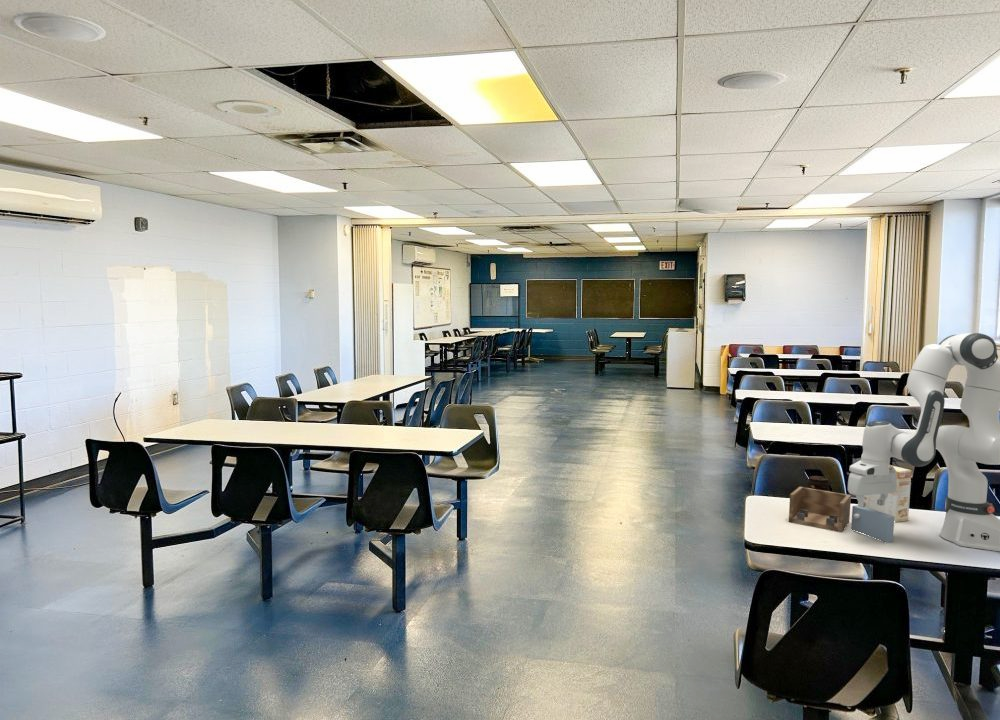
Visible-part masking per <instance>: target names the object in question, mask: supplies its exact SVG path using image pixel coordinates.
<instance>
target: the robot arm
mask: <svg viewBox="0 0 1000 720" xmlns="http://www.w3.org/2000/svg"><path fill="white" fill-rule="evenodd" d="M997 348H998V347H997V344H996V341H995V340H994V339H993V338H992V337H991V336H989V335H987V334H984V333H980V332H975V333H973V332H963V333H959V334H951V335H948V336H947V337H945V338H943V340H941V341H940V342H939V343H931V344H926V345H925V346H924V347H922V349H921V350H920V352H919V353H918V355H917V356H916V359H915V360H914V362H913V364H912V367H911V369H910V372H909V374H908V377H907V381H906V388H907V390H908V393H909V395H910V396H911V397H913V399H914V400H916V401H917V402H918V404H919V406H920V415H919V418H918V419H919V420H918V423H917V426H916V430H915V432H914V434H913V433H909V432H907V431H904V430H901V429H900V428H898V427H895V426H894V425H893V424H892V423H891V422H890V421H888V420H873V421H869V422H868V423H867V424H866V425H865V428H864V430H863V435H862V454H861V457H860V460H858V461H857V462H854V463H853V464H851V465H849V469H848V470H849V472H850V473H849V475H848V479H847V480H848V481H847V491H848V493H849V495H851V496H855V497H856V500H857V505H858V507H861V508H862V507H865V504H866V503H865V502H864V501H863V498H864V495H872V494H880V495H881V496H880V498H879V500H877V504H878V505H880V506H883V505H884V504H885V500H886V498H887V497H888V493H894V492H896V490H897V475H896V470H895V468H894V467H893V466H894V465H892V466H889V465H891V464H890V463H891V458H895V459H897V460H900V461H903V462H905V463H907V464H909V465H911V466H914V467H917V468H919V467H925V466H927V465H929V464H930V463H931V462H932V461H933V460H934V459H935V456H936V452H937V451H938V452H939V453H940V455H941V457H942V458H943V460H944V463H945V466H946V469H947V473H948V474H947V476H948V485H947V486H948V487H947V489H948V490H947V492H948V493H947V496H946V498H945V503H944V504H945V505H944V509H945V516H944V520H943V525H942V527H941V529H940V532H939V536H940V537H941V538H942V539H944V540H946V541H949V542H951V543H954V544H956V545H958V546H961V547H966V548H973V549H981V550H985V551H994V552H1000V519H999V518H998V517H997V516H996V515H995V514H993V513H995V507H994V505H993V503H989V501H987V498H988V497H987V495H988V485H989V484H988V479H987V477H986V476H985V474H983V472H982V471H981V470H980V469H979V467H978V465H977V463H980V464H984V465H994V466H995V465H996V466H997V465H998V466H999V465H1000V359H998V358H999V355H998V349H997ZM955 366H964V367H965V370H966V379H965V383H964V385H963V386H964V387H963V391H962V395H961V399H960V404H959V406H960V410H961V412H962V413H963V414H964V415H965V416H967V418H968V421H969V426H968V427H966V426H964V425H963V426H962V425H956V424H952V425H951V424H950V425H949V424H948V425H947V424H945V425H940V424H941V420H942V418H943V413H944V408H945V402H946V400H945V396H944V391H945V386H946V383H947V381H948V378H949V376H950V372H951V370H952V369H953V368H954V367H955ZM936 450H937V451H936Z"/></svg>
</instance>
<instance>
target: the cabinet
mask: <svg viewBox="0 0 1000 720" xmlns="http://www.w3.org/2000/svg"><path fill="white" fill-rule="evenodd" d="M851 499H852V494H848V493H847V494H846V493H840V492H833V491H830V490H829V491H823V490H817V489H811V488H808V487H804V486H798V487H797V488H796V489H795V490H793V491H792V492H791V493H789V505H788V506H789V509H788V510H789V511H788V523H793V524H798V525H802V526H808V527H813V528H819V529H823V530H828V529H829V530H828V531H833V530H834V531H833V532H838V531H840V532H839V533H842V532H843V531H844V530H845V529H846V528H847V526H848V525H849V524H850V517H851V516H850V515H851ZM848 523H849V524H848ZM847 524H848V525H847ZM845 527H846V528H845ZM844 528H845V529H844Z"/></svg>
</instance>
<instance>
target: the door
mask: <svg viewBox="0 0 1000 720" xmlns="http://www.w3.org/2000/svg"><path fill="white" fill-rule="evenodd" d="M851 507H852V508H851V509H852V510H851V524H850V525H851V527H850V529H852V530H855V531H858V532H861V533H864V534H866V535H869V536H871V537H874V538H876V539H875V540H877V539H879V540H881V541H880V542H882V541H883V543H885V542H886V544H888V543H887V542H889V543H893V542H894V528H895V522H894V517H895V516H891V515H888V514H885V513H882V512H879V511H876V510H873V509H870V508H867V507H862V508H861V507H858V504H856V505H852V506H851ZM852 530H851V531H852ZM855 531H854V532H855ZM858 532H857V533H858ZM866 535H865V536H866ZM871 537H870V538H871ZM874 538H873V539H874ZM879 540H878V541H879ZM892 541H893V542H892Z"/></svg>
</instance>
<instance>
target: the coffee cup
mask: <svg viewBox="0 0 1000 720" xmlns="http://www.w3.org/2000/svg"><path fill="white" fill-rule="evenodd" d="M806 483H807V488H811V489H817V490H823V491H829V492H830V487H829V486H831V485H832V483H831V480H830V479H829V478H828V477H826V476H820V475H811V476H809V478H808V479H807V482H806Z"/></svg>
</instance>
